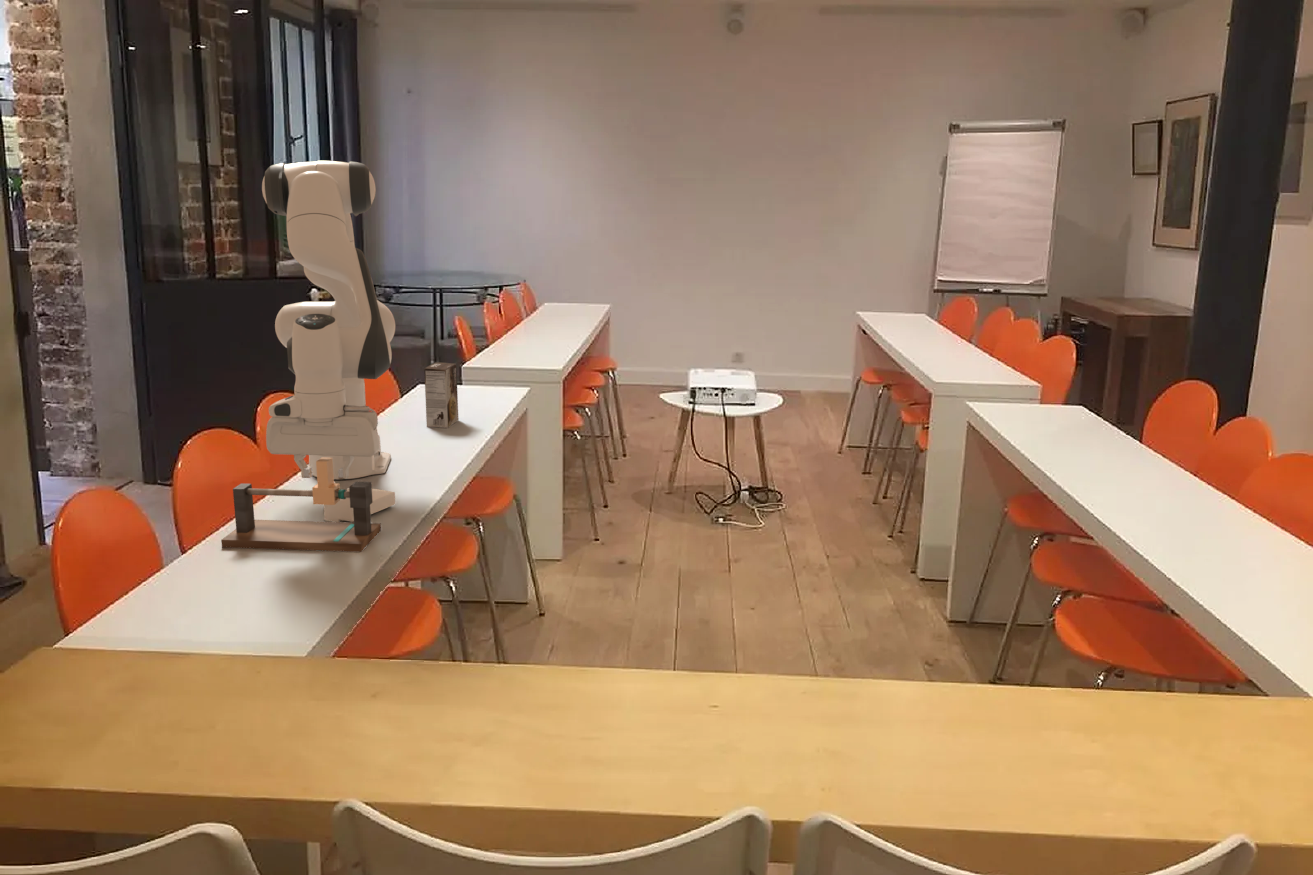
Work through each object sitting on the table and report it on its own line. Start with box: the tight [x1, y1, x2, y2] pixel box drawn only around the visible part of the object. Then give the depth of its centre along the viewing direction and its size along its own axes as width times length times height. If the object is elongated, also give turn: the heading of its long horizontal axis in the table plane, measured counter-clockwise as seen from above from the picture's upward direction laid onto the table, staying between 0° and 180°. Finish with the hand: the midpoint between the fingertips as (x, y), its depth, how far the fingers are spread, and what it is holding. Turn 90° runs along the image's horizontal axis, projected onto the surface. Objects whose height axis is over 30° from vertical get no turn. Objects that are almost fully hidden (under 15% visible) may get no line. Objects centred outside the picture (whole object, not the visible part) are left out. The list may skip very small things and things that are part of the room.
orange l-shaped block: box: [311, 457, 341, 506], centre depth 204 cm, size 3×4×8 cm
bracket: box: [323, 481, 396, 523], centre depth 222 cm, size 13×7×8 cm, turn 154°
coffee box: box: [423, 361, 460, 429], centre depth 298 cm, size 9×6×16 cm
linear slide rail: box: [221, 481, 382, 553], centre depth 206 cm, size 12×26×11 cm, turn 86°
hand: (325, 477), depth 204 cm, fingers open, 5 cm apart
